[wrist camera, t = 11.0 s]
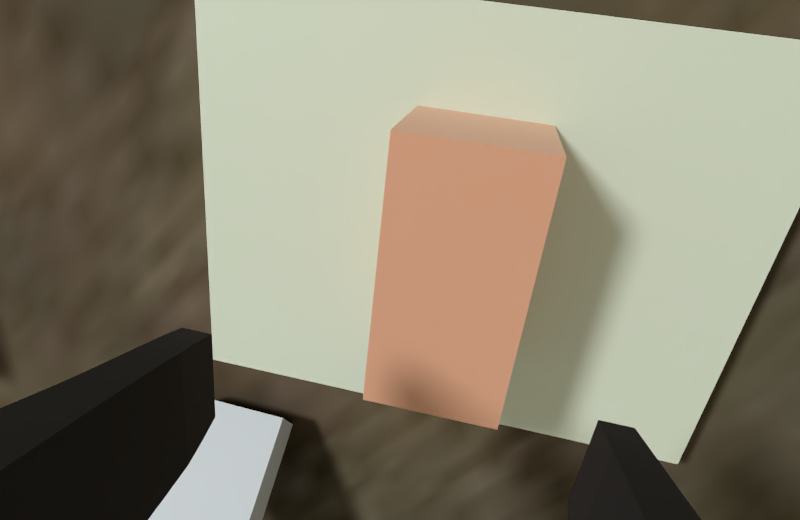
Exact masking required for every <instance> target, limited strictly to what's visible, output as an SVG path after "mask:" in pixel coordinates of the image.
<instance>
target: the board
mask: <svg viewBox="0 0 800 520" xmlns="http://www.w3.org/2000/svg"><path fill="white" fill-rule="evenodd" d="M195 14H196V33H197V53H198V72H199V92H200V112H201V131H202V151H203V170H204V190H205V209H206V229H207V248H208V268H209V288H210V307H211V327H212V346H213V360H218V361H222V362H227V363H231V364H236V365H240V366H244V367H249V368H253V369H258V370H262V371H267V372H271V373H275V374H280V375H284V376H289V377H293V378H298V379H302V380H307V381H311V382H315V383H320V384H324V385H329V386H333V387H338V388H342V389H346V390H351V391H355V392H360V393H364V383H365V374H366V364H367V354H368V344H369V335H370V325H371V315H372V306H373V296H374V286H375V277H376V267H377V257H378V248H379V238H380V228H381V219H382V209H383V199H384V189H385V180H386V170H387V160H388V151H389V141H390V131H391V129H392V128H393V127H394V126H395V125H396V124H397V123H399V122H400V121H401V120H402V119H403V118H404V117H405V116H406V115H407V114H409V113H410V112H411V111H412V110H413V109H414V108H415V107H416V106H417V105H419V106H426V107H433V108H440V109H446V110H453V111H460V112H466V113H473V114H480V115H486V116H493V117H500V118H507V119H513V120H520V121H527V122H533V123H540V124H547V125H554V126H555V127H556V130H557V132H558V135H559V138H560V140H561V143H562V146H563V149H564V151H565V154H566V157H567V158H566V162H565V166H564V170H563V174H562V178H561V182H560V185H559V189H558V193H557V197H556V201H555V205H554V209H553V213H552V217H551V221H550V225H549V229H548V233H547V237H546V241H545V244H544V248H543V252H542V256H541V260H540V264H539V268H538V272H537V276H536V280H535V284H534V288H533V292H532V296H531V299H530V303H529V307H528V311H527V315H526V319H525V323H524V327H523V331H522V335H521V339H520V343H519V347H518V351H517V354H516V358H515V362H514V366H513V370H512V374H511V378H510V382H509V386H508V390H507V394H506V398H505V402H504V406H503V409H502V413H501V417H500V421H499V424H502V425H506V426H510V427H515V428H519V429H524V430H528V431H533V432H537V433H541V434H546V435H550V436H555V437H559V438H564V439H568V440H572V441H577V442H581V443H586V444H590V441H591V438H592V436H593V433H594V430H595V427H596V425H597V422H598V420H601V421H606V422H610V423H615V424H619V425H624V426H628V427H633V428H635V429H636V430H637V432H638V433H639V434H640V436H641V437H642V439H643V440H644V441H645V443H646V444H647V445H648V447H649V448H650V450H651V451H652V452H653V454H654V455H655V457H656V458H657V459H658V460H661V461H666V462H670V463H674V464H678V463H679V461H680V459H681V457H682V454H683V452H684V450H685V448H686V446H687V444H688V442H689V440H690V438H691V435H692V433H693V431H694V429H695V427H696V425H697V423H698V421H699V419H700V416H701V414H702V412H703V410H704V408H705V406H706V404H707V402H708V400H709V397H710V395H711V393H712V391H713V389H714V387H715V385H716V383H717V381H718V378H719V376H720V374H721V372H722V370H723V368H724V366H725V364H726V362H727V360H728V357H729V355H730V353H731V351H732V349H733V347H734V345H735V343H736V341H737V338H738V336H739V334H740V332H741V330H742V328H743V326H744V324H745V322H746V319H747V317H748V315H749V313H750V311H751V309H752V307H753V305H754V303H755V300H756V298H757V296H758V294H759V292H760V290H761V288H762V286H763V284H764V281H765V279H766V277H767V275H768V273H769V271H770V269H771V267H772V265H773V263H774V260H775V258H776V256H777V254H778V252H779V250H780V248H781V246H782V244H783V241H784V239H785V237H786V235H787V233H788V231H789V229H790V227H791V225H792V222H793V220H794V218H795V216H796V214H797V212H798V210H799V208H800V40H798V39H789V38H781V37H773V36H765V35H757V34H749V33H741V32H733V31H725V30H717V29H709V28H700V27H692V26H684V25H676V24H668V23H660V22H652V21H644V20H636V19H628V18H620V17H611V16H603V15H595V14H587V13H579V12H571V11H563V10H555V9H547V8H539V7H531V6H522V5H514V4H506V3H498V2H490V1H482V0H195Z"/></svg>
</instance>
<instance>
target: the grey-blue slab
mask: <svg viewBox="0 0 800 520" xmlns="http://www.w3.org/2000/svg"><path fill="white" fill-rule="evenodd" d="M292 426H293V424H291V423H290V422H288V421H287V420H285V419H284V418H281V417H277V416H273V415H270V414H266V413H262V412H258V411H254V410H251V409H247V408H243V407H239V406H235V405H232V404H228V403H224V402H220V401H216V400H215V418H214V420H213V422H212V424H211V426H210V428H209V430H208V431H207V433H206V435H205V437H204V439H203V441H202V442H201V444H200V446H199V448H198V449H197V451H196V453H195V454H194V456H193V458H192V459H191V461H190V463H189V465H188V466H187V467H186V469H185V470H184V472H183V473H182V474H181V476H180V477H179V478H178V480H177V481H176V483H175V484H174V485H173V487H172V488H171V489H170V491H169V492H168V494H167V495H166V496H165V498H164V499H163V500H162V502H161V503H160V504H159V506H158V507H157V508H156V510H155V511H154V512H153V514H152V515H151V516H150V518H149V519H148V520H262V519H263V516H264V513H265V510H266V507H267V503H268V500H269V497H270V494H271V491H272V488H273V485H274V482H275V479H276V475H277V472H278V469H279V466H280V463H281V460H282V457H283V454H284V450H285V447H286V444H287V441H288V438H289V435H290V432H291V429H292Z"/></svg>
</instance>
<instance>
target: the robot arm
mask: <svg viewBox="0 0 800 520" xmlns="http://www.w3.org/2000/svg"><path fill="white" fill-rule="evenodd" d="M214 418H215V399H214V378H213V357H212V335H211V334H208V333H203V332H199V331H194V330H190V329H185V328H180V329H178V330H175V331H173V332H170V333H168V334H166V335H163V336H161V337H159V338H157V339H155V340H152V341H150V342H148V343H146V344H144V345H142V346H139V347H137V348H135V349H133V350H131V351H129V352H127V353H124V354H122V355H120V356H118V357H116V358H114V359H112V360H109V361H107V362H105V363H103V364H101V365H99V366H96V367H94V368H92V369H90V370H88V371H86V372H84V373H81V374H79V375H77V376H75V377H73V378H71V379H68V380H66V381H64V382H61V383H59V384H57V385H54V386H52V387H50V388H47V389H45V390H43V391H40V392H38V393H35V394H33V395H31V396H28V397H26V398H24V399H21V400H19V401H17V402H14V403H12V404H9V405H7V406H5V407H2V408H0V520H148V519H149V518H150V516H151V515H152V514H153V512H154V511H155V510H156V508H157V507H158V506H159V504H160V503H161V502H162V500H163V499H164V498H165V496H166V495H167V494H168V492H169V491H170V489H171V488H172V487H173V485H174V484H175V483H176V481H177V480H178V478H179V477H180V476H181V474H182V473H183V472H184V470H185V469H186V467H187V466H188V465H189V463H190V461H191V459H192V458H193V456H194V454H195V453H196V451H197V449H198V448H199V446H200V444H201V442H202V441H203V439H204V437H205V435H206V433H207V431H208V430H209V428H210V426H211V424H212V422H213V420H214ZM568 520H701V519H700V517H699V516H698V515H697V513H696V512H695V511H694V509H693V508H692V507H691V505H690V504H689V503H688V501H687V500H686V498H685V497H684V496H683V494H682V493H681V492H680V490H679V489H678V487H677V486H676V485H675V483H674V482H673V480H672V479H671V478H670V476H669V475H668V474H667V472H666V471H665V469H664V468H663V467H662V465H661V464H660V462H659V461H658V459H657V458H656V457H655V455H654V454H653V452H652V451H651V450H650V448H649V447H648V445H647V444H646V443H645V441H644V440H643V439H642V437H641V436H640V434H639V433H638V432H637V430H636V429H635V428H633V427H628V426H624V425H619V424H615V423H610V422H606V421H601V420H598V422H597V425H596V427H595V430H594V433H593V436H592V438H591V441H590V444H589V446H588V449H587V452H586V455H585V457H584V460H583V463H582V465H581V468H580V471H579V474H578V476H577V479H576V482H575V484H574V487H573V490H572V493H571V495H570V498H569V501H568Z"/></svg>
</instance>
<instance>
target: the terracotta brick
mask: <svg viewBox="0 0 800 520" xmlns="http://www.w3.org/2000/svg"><path fill="white" fill-rule="evenodd" d="M566 158H567V157H566V154H565V151H564V149H563V146H562V143H561V140H560V138H559V135H558V132H557V130H556V127H555V126H554V125H547V124H540V123H533V122H527V121H520V120H513V119H507V118H500V117H493V116H486V115H480V114H473V113H466V112H460V111H453V110H446V109H440V108H433V107H426V106H419V105H417V106H416V107H415V108H414V109H413V110H412V111H411V112H410V113H409V114H407V115H406V116H405V117H404V118H403V119H402V120H401V121H400V122H399V123H397V124H396V125H395V126H394V127H393V128H392V129H391V131H390V141H389V151H388V160H387V170H386V180H385V189H384V199H383V209H382V219H381V228H380V238H379V248H378V257H377V267H376V277H375V286H374V296H373V306H372V315H371V325H370V335H369V344H368V354H367V364H366V374H365V383H364V393H363V400H367V401H372V402H376V403H381V404H385V405H390V406H394V407H399V408H403V409H407V410H412V411H416V412H421V413H425V414H430V415H434V416H438V417H443V418H447V419H452V420H456V421H461V422H465V423H470V424H474V425H478V426H483V427H487V428H492V429H496V430H497V429H498V425H499V421H500V417H501V413H502V409H503V406H504V402H505V398H506V394H507V390H508V386H509V382H510V378H511V374H512V370H513V366H514V362H515V358H516V354H517V351H518V347H519V343H520V339H521V335H522V331H523V327H524V323H525V319H526V315H527V311H528V307H529V303H530V299H531V296H532V292H533V288H534V284H535V280H536V276H537V272H538V268H539V264H540V260H541V256H542V252H543V248H544V244H545V241H546V237H547V233H548V229H549V225H550V221H551V217H552V213H553V209H554V205H555V201H556V197H557V193H558V189H559V185H560V182H561V178H562V174H563V170H564V166H565V162H566Z"/></svg>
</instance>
